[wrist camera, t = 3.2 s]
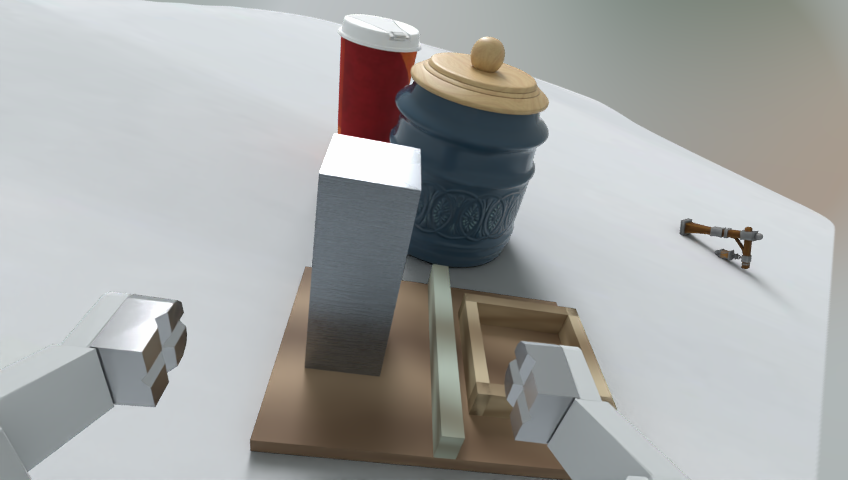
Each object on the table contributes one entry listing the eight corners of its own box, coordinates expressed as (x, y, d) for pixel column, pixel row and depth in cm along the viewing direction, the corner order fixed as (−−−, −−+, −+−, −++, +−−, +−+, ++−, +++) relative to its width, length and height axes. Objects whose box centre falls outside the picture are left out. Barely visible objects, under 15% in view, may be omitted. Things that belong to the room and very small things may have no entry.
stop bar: (379, 376, 27) (421, 190, 20) (304, 367, 27) (319, 173, 20) (384, 322, 31) (420, 148, 24) (317, 314, 31) (334, 133, 23)
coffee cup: (412, 176, 52) (440, 38, 44) (347, 185, 47) (364, 33, 39) (376, 144, 57) (395, 15, 49) (314, 149, 53) (324, 8, 44)
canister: (527, 271, 41) (610, 75, 31) (387, 271, 37) (432, 47, 27) (480, 197, 51) (532, 31, 41) (366, 190, 47) (393, 5, 38)
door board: (611, 483, 26) (636, 455, 24) (250, 450, 23) (249, 416, 22) (551, 311, 37) (565, 283, 36) (304, 276, 35) (306, 245, 33)
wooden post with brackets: (753, 272, 48) (760, 230, 47) (677, 255, 54) (681, 218, 53) (761, 269, 49) (767, 228, 48) (685, 253, 55) (689, 216, 54)
